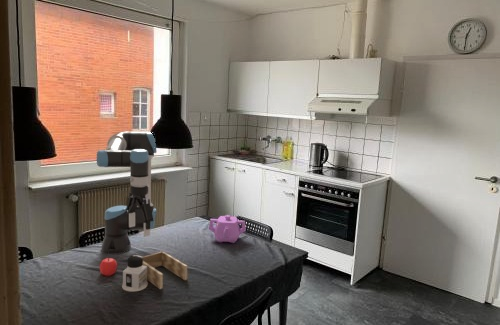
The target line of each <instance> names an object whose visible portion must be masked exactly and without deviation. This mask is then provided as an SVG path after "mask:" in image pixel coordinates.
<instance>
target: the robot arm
mask: <svg viewBox="0 0 500 325" xmlns="http://www.w3.org/2000/svg"><path fill="white" fill-rule="evenodd" d="M151 132H152V131H151ZM151 132H150V131H130V130H129V131H127V130H125V131H120V132H118V133H115V134H113V135H111V136H110V137H109V138H108V140H107V144H106V145H107V146H106V149H100V150H99V149H98V150H97V151H96V164H97V166H98V167H99V168H100V167H101V168H130V170H129V171H130V178H129V181H130V189H129V191H130V192H129V196H128V201H127V204H126V205H114V206H110V207H109V208H107V209H106V210H105V211H104V238H103V241H102V244H101V251H102V253H105V254H110V255H111V254H112V255H115V254H116V255H117V254H118V255H119V254H123V253H126V252H129V251H130V250H131V247H132V244H131V241H130V237H129V234H128V233H129V232H128V231H143V237H149V236H151V230H153V229H154V227H155V220H156V215H157V214H156V213H157V208H155V207H154V204H153V203H152V159H153V158H154V157H155V154H156V153H157V144H156V143H155V142H156V137H155V138H154V136H153V134H152V133H153V132H152V133H151ZM154 147H155V148H154Z"/></svg>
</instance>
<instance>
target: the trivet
mask: <svg viewBox="0 0 500 325" xmlns="http://www.w3.org/2000/svg"><path fill="white" fill-rule="evenodd" d="M148 284H149V281H147V282H146V283H145V284H144V285H143V286H142V287H141V288H140V289H132V288H127V287H123V283H122V284H121V288H122V290H123V291H125V292H131V293H134V292H139V291H140V292H141V291H142V290H145V289H146V288H147V287H148V286H149V285H148Z"/></svg>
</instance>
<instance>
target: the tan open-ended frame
mask: <svg viewBox="0 0 500 325" xmlns="http://www.w3.org/2000/svg"><path fill="white" fill-rule="evenodd" d="M141 257H142V258H143V266H147V282H148V283H151V284H152V285H154V287H156V288H158V289H159V290H162V289H163V283H164V280H163V279H164V277H163V276H164V273H162V272H161V271H159V270H158V269H156V268H158V267H161V266H162V267H163V268H165V269H167V270H168V271H170V272H171V273H172V274H175V275H176V276H178V277H180V278H181V279H183V280H184V281H187V280H188V265H187V264H185V263H183V262H182V261H180V260H178V259H177V258H176V257H174V256H172V255H170V254H168V253H167V252H165V251H164V250H161V251H158V252H154V253H151V254H148V255H143V256H141Z"/></svg>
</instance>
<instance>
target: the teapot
mask: <svg viewBox="0 0 500 325" xmlns="http://www.w3.org/2000/svg"><path fill="white" fill-rule="evenodd" d="M214 223H216V224H215V226H214ZM240 225H241V227H240ZM208 230H209V231H211V232H212V233H214V237H215V238H214V239H215V241H217V243H219V244H221V243H223V242H224V243H231V244H235V243H236V242H237V241H238V240H239V237H240V235H241V234H243V233H245V232H246V220H239V219H238V218H237V217H236V216H231V215H230V214H226V215H220V216H219V217H218V218H210V220H209V226H208Z"/></svg>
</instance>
